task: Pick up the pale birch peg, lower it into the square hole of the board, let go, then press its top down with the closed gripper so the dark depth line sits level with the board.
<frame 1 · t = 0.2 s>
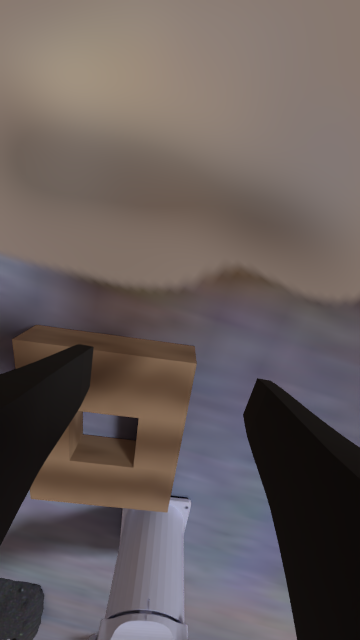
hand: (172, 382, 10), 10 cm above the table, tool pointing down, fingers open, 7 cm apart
board: (112, 415, 23), on the table
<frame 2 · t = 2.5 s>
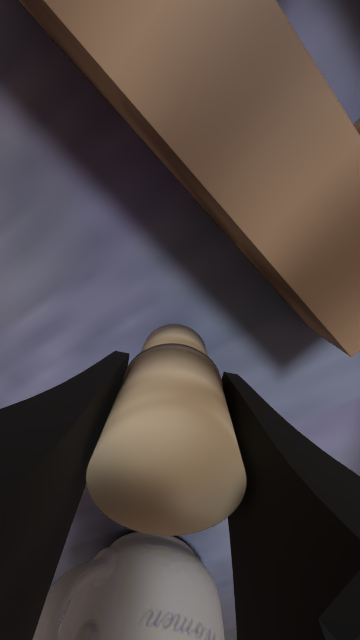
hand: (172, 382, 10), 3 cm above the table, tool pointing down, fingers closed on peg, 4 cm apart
peg: (174, 353, 12), on the table, touching gripper
teacup: (143, 538, 18), on the table
board: (329, 29, 8), on the table
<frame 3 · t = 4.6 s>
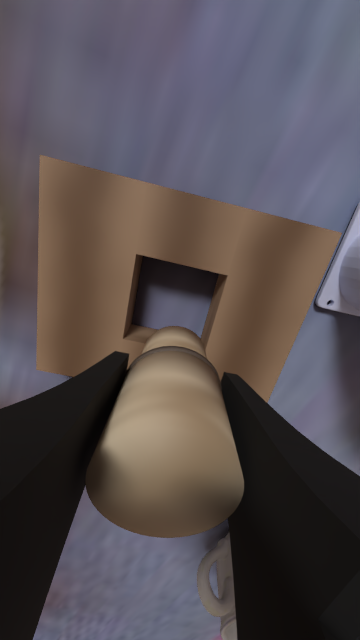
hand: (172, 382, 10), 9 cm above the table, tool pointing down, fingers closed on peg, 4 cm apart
peg: (174, 355, 12), point 7 cm above the table, touching gripper
teacup: (244, 527, 28), on the table
board: (173, 298, 18), on the table
when the fingers open (4 cm above the table, at t = 6.6 s): peg stays where it is, resting in board.
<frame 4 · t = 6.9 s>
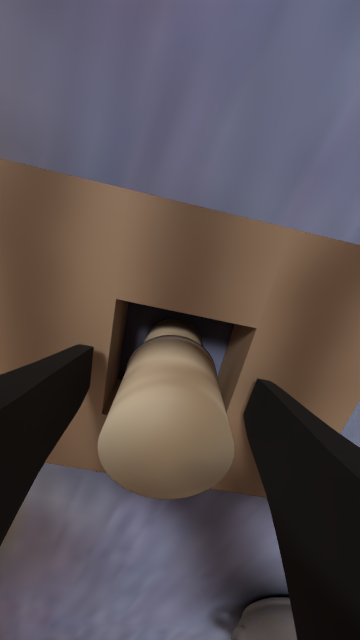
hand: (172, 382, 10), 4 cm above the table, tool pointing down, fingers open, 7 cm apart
peg: (173, 346, 13), resting in board
teacup: (263, 602, 23), on the table
board: (175, 345, 13), on the table
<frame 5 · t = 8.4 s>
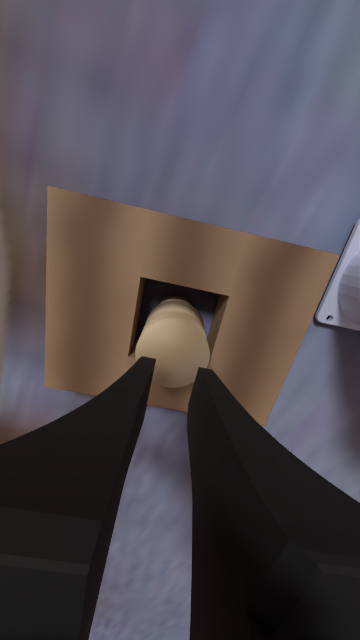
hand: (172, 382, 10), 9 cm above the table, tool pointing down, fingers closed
peg: (175, 315, 19), resting in board
board: (176, 314, 19), on the table
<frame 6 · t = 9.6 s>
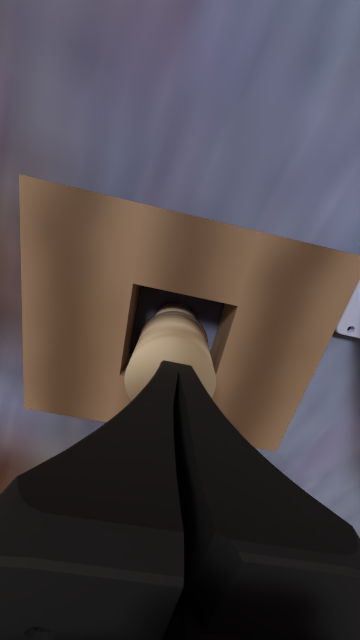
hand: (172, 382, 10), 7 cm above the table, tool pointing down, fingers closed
peg: (174, 325, 16), resting in board
board: (176, 324, 16), on the table
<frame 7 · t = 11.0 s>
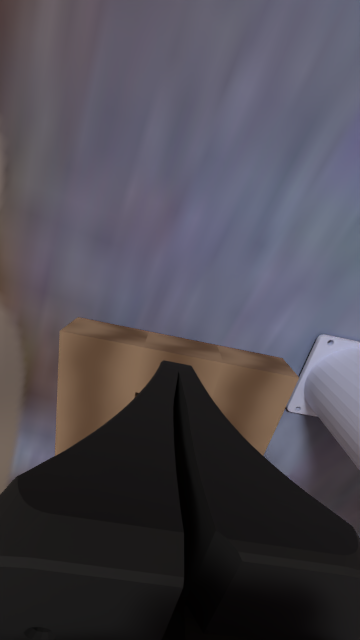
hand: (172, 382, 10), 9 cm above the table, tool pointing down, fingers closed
board: (167, 403, 22), on the table
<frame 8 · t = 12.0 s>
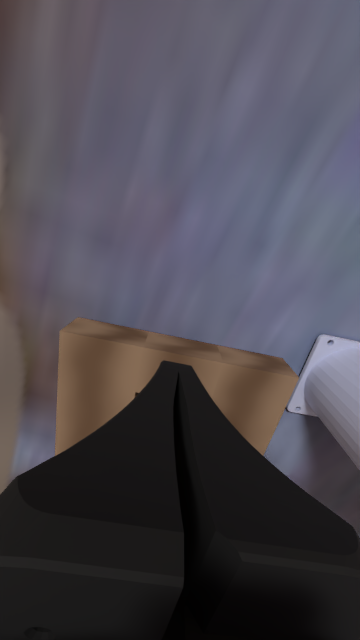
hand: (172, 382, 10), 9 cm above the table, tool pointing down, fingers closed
board: (167, 403, 22), on the table
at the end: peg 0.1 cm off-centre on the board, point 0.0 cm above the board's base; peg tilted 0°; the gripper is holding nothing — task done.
